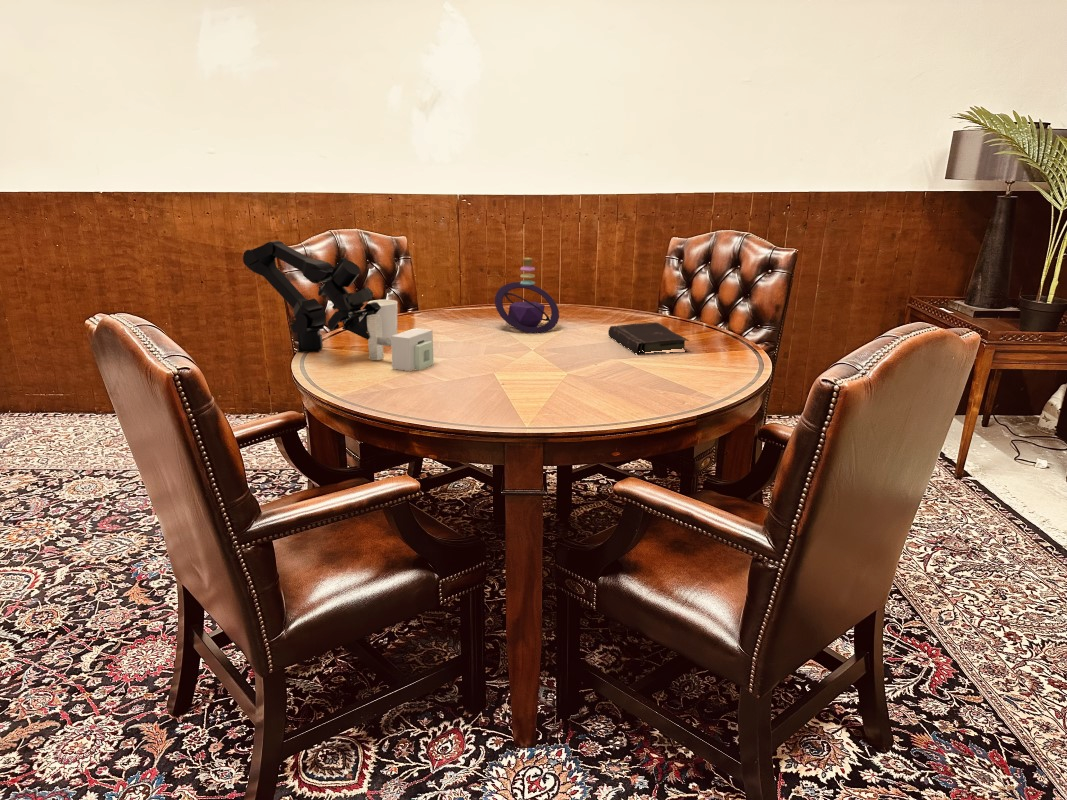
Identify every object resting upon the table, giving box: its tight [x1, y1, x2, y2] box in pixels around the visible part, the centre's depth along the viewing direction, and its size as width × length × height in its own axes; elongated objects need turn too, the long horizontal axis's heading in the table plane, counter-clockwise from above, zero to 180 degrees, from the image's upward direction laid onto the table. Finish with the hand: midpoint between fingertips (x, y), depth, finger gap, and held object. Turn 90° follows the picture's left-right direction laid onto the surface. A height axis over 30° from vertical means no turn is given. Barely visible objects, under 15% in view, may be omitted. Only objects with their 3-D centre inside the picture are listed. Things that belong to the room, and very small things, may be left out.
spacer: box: [414, 340, 435, 371], centre depth 207 cm, size 2×7×7 cm, turn 154°
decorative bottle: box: [494, 257, 560, 334], centre depth 255 cm, size 22×21×25 cm
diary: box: [607, 322, 690, 354], centre depth 237 cm, size 19×25×5 cm
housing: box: [390, 327, 435, 372], centre depth 208 cm, size 6×12×10 cm, turn 154°
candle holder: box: [367, 299, 398, 338], centre depth 242 cm, size 10×10×12 cm
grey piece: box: [367, 314, 391, 361], centre depth 211 cm, size 15×3×13 cm, turn 64°
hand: (372, 337), depth 214 cm, fingers closed on grey piece, 3 cm apart
